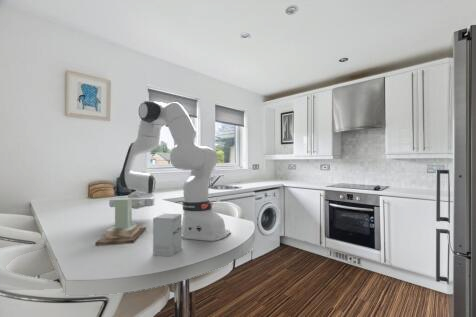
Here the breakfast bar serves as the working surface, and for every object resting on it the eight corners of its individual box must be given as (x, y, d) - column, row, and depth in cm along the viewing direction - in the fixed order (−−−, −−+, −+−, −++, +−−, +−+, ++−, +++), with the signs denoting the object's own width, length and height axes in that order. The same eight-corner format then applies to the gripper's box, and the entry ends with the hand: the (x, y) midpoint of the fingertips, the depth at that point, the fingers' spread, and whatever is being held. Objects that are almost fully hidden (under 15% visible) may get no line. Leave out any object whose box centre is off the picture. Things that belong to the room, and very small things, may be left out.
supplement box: (172, 256, 74) (172, 218, 74) (152, 255, 75) (152, 217, 76) (182, 248, 81) (182, 213, 81) (163, 247, 83) (163, 213, 83)
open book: (146, 229, 106) (146, 220, 106) (133, 242, 88) (133, 232, 88) (114, 231, 104) (114, 222, 104) (95, 244, 86) (95, 234, 86)
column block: (131, 224, 99) (131, 197, 99) (127, 228, 94) (127, 199, 94) (119, 225, 98) (119, 198, 98) (115, 228, 93) (115, 199, 93)
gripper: (115, 194, 114) (103, 198, 100) (157, 193, 117) (150, 197, 103) (115, 206, 114) (103, 212, 100) (157, 205, 117) (150, 210, 103)
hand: (127, 204), depth 102 cm, fingers open, 8 cm apart
